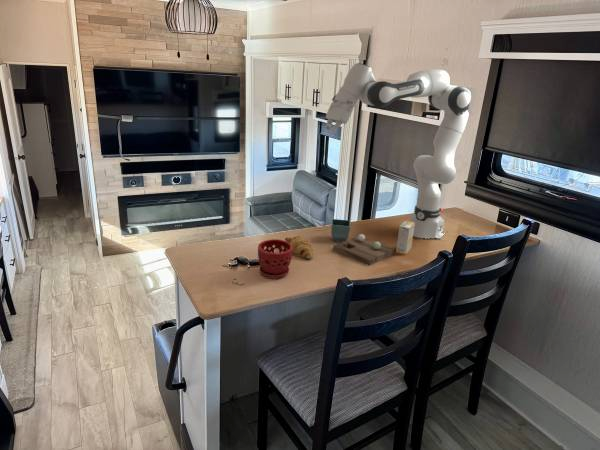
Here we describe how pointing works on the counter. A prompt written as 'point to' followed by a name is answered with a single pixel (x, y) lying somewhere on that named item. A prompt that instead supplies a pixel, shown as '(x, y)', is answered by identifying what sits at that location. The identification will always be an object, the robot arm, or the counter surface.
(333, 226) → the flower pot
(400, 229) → the supplement box
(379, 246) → the sage ball
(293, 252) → the croissant
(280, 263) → the plant pot
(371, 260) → the board
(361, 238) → the ivory ball
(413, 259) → the counter surface
